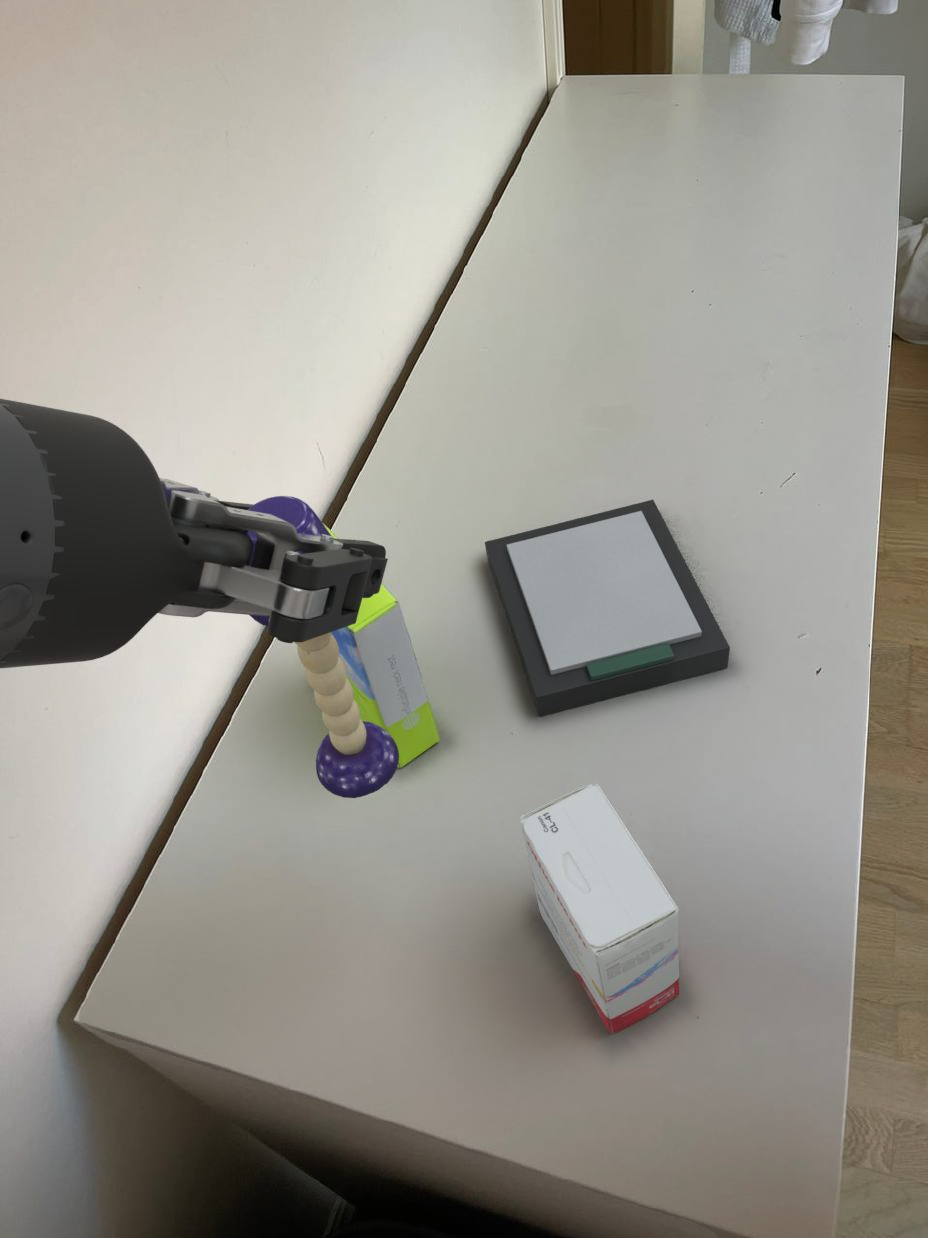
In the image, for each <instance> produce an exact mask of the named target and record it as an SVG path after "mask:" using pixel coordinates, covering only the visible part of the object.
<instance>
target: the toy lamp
mask: <svg viewBox="0 0 928 1238" xmlns="http://www.w3.org/2000/svg"><path fill="white" fill-rule="evenodd" d="M248 511H254V512H260V513H266V514H271V515H274V516H276V517H278V518H280V519H282V520H285V521H287V522H289V523H291V524H293V525H294V526H295V528H296V530H297V533H302V534H308V535H315V536H321V534H324V535H329V536H331V534H330V533H329V532H328V530H327V529H326V527H325V526H324V524H325V523H324V522H323V521H322V520H321V519H320V518H319V516H318V514H317V513H316V512H315V510H313V508H312V507H311V506H310V505H309V504H308V503H307V502H305V501H304V500H302V499H300V498H298V497H295V496H289V495H277V496H271V497H267V498H264V499H262V500H260V501H258V502H256V503H254V504H253V506H251V507H250V508H249V509H248ZM247 534H248V535H249V536H250V538H251V540H252V543H253V552H252V556H251V560H250V565H249V566H251V562H252V558H253V553H254V549H255V545H256V541H257V533H256V532H253V531H248V533H247ZM297 553H299V554H306V552H297ZM249 617H251V618H252V619H253V620H254V621H255V622H257V623H258V624H259V625H261V626H263V627H265V626H266V627H267V628H268V625H269V618H270V616H257V615H249ZM294 643H295V644H296V645H297V647H296V648H297V655H298V658H299V660H300V663H301V664H302V666H303V667H304V668H305V676H306V680H307V683H308V684H309V687H311V688H312V690H313V697H314V701H315V704H316V705H317V707H318V708H319V709H320V710H321V717H322V721H323V724H324V726H325V727H326V729H327V730H328V733H327V734H326V735H325V736H324V738H323V739H322V740H321V742H320V745H319V747H318V749H317V752H316V758H315V772H316V776H317V779H318V782H320V784H321V786H323V788H324V789H325V790H326V791H328V792H330V793H332V794H333V795H335V796H337V797H341V798H345V799H346V798H348V799H357V798H362V797H365V796H369V795H371V794H374V793H376V792H378V791H379V790H381V789H382V788H384V786H385V785H387V784H388V783H389V782H390V781H391V779H392V778H393V777H394V775H395V773H396V771H397V770H398V767H397V766H398V762H399V751H398V747H397V745H396V743H395V741H394V739H393V738H392V737H391V735H389V733H388V732H387V731H386V730H384V729H383V728H382V727H380V726H378V725H376V724H374V723H371V722H367V721H361V720H360V710H359V707H358V705H357V703H356V702H355V700H354V692H353V688H352V685H351V683H350V682H349V680H348V679H347V678H346V675H347V674H346V668H345V665H344V663H343V661H342V659H341V658H340V657H339V647H338V644H337V641H336V639H335V638H334V636H333V635H332V634H331V632H330V633H327V634H324V635H321V636H319V637H316V638H313V639H310V640H307V641H305V642H294Z"/></svg>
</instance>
